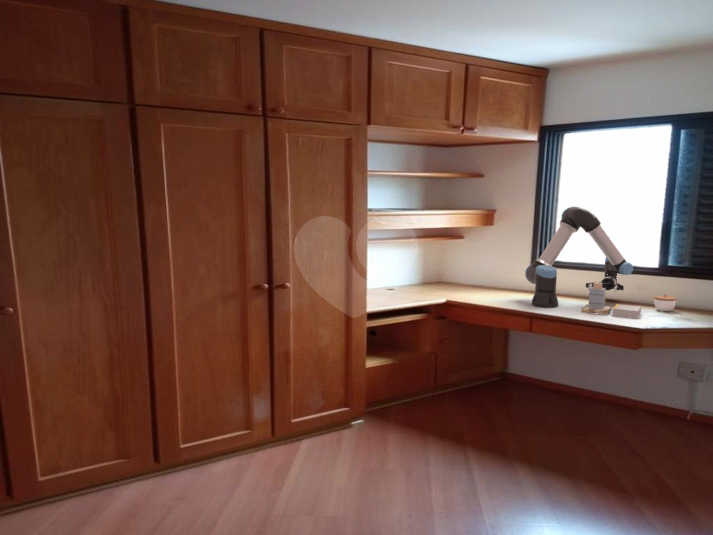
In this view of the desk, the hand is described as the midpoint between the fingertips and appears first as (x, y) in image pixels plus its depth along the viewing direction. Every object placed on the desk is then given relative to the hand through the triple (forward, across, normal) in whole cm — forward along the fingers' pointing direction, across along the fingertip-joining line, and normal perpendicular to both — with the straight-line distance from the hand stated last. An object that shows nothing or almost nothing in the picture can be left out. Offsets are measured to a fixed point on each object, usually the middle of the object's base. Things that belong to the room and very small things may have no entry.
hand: (601, 288), depth 294 cm
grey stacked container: (+11, 0, -9) cm, 14 cm away
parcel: (+11, 0, +2) cm, 11 cm away
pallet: (+11, 0, -12) cm, 16 cm away
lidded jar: (-14, -30, -12) cm, 36 cm away
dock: (+10, -14, -12) cm, 21 cm away
